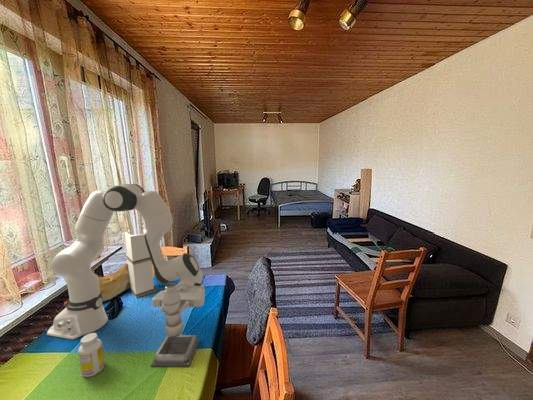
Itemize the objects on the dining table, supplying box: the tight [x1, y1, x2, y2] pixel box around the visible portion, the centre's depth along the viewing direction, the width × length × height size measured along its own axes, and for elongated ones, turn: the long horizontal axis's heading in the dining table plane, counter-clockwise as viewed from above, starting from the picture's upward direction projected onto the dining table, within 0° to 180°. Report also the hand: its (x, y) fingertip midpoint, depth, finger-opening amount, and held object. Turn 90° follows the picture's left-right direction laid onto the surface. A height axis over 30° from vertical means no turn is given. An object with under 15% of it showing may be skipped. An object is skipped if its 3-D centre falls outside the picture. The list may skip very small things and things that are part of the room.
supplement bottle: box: [77, 332, 105, 378], centre depth 84 cm, size 7×7×13 cm
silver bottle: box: [162, 282, 184, 337], centre depth 90 cm, size 6×7×20 cm
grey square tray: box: [150, 334, 201, 368], centre depth 92 cm, size 14×13×3 cm
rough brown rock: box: [98, 263, 130, 303], centre depth 136 cm, size 23×17×15 cm
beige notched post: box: [124, 228, 157, 299], centre depth 136 cm, size 11×11×35 cm
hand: (171, 310), depth 89 cm, fingers closed on silver bottle, 5 cm apart
